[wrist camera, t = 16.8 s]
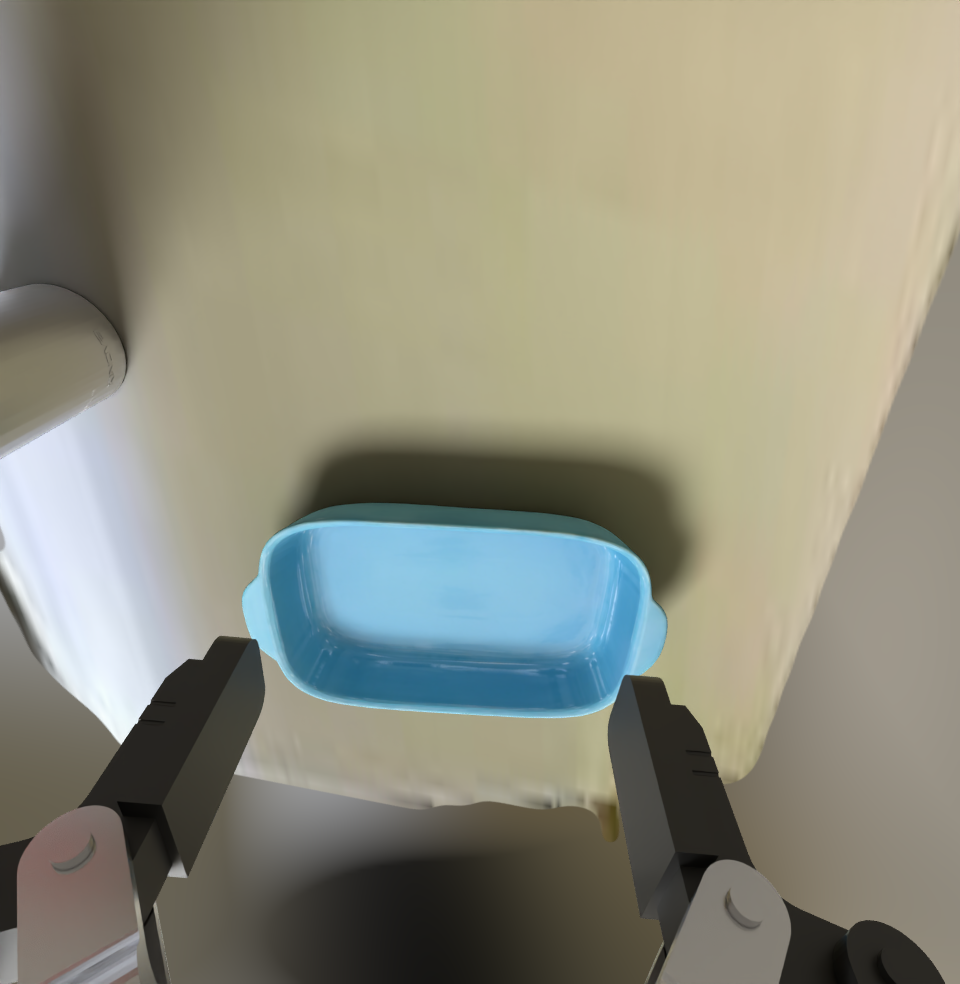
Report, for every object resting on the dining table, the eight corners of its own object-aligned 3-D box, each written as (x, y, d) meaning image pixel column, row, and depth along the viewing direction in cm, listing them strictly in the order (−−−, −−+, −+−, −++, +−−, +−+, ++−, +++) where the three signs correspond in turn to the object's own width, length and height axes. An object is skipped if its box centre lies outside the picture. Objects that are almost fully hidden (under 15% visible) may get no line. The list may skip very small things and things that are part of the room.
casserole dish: (287, 653, 59) (262, 709, 53) (250, 472, 48) (213, 517, 42) (627, 670, 59) (642, 728, 53) (670, 491, 48) (695, 539, 42)
